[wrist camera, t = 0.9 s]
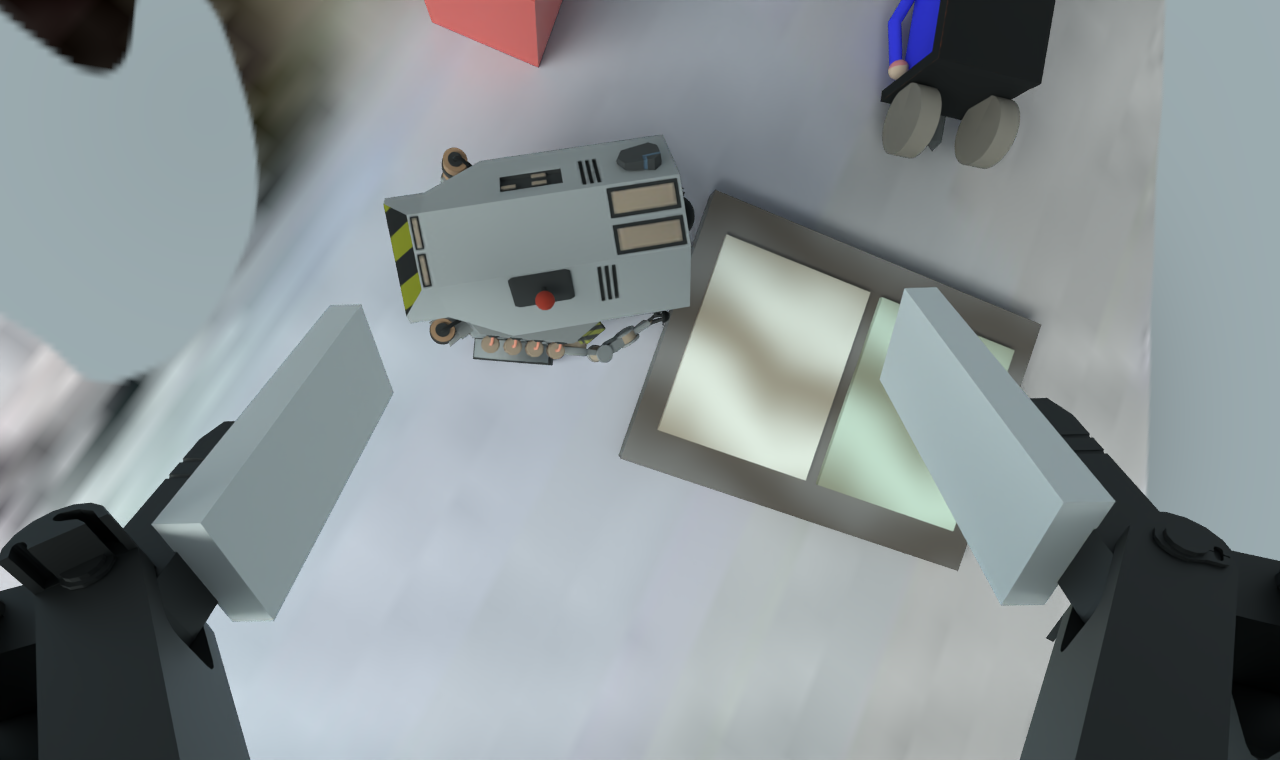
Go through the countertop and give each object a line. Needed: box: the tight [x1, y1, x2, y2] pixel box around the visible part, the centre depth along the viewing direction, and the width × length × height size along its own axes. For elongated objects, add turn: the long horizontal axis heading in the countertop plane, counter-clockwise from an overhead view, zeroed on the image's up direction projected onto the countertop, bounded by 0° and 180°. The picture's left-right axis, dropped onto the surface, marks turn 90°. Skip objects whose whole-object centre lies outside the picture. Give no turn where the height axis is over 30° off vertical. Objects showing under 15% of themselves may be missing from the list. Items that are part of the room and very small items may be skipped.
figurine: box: [384, 135, 695, 365], centre depth 26 cm, size 9×12×15 cm
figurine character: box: [881, 0, 1055, 169], centre depth 33 cm, size 7×8×15 cm
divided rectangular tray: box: [619, 190, 1041, 571], centre depth 35 cm, size 16×22×2 cm
